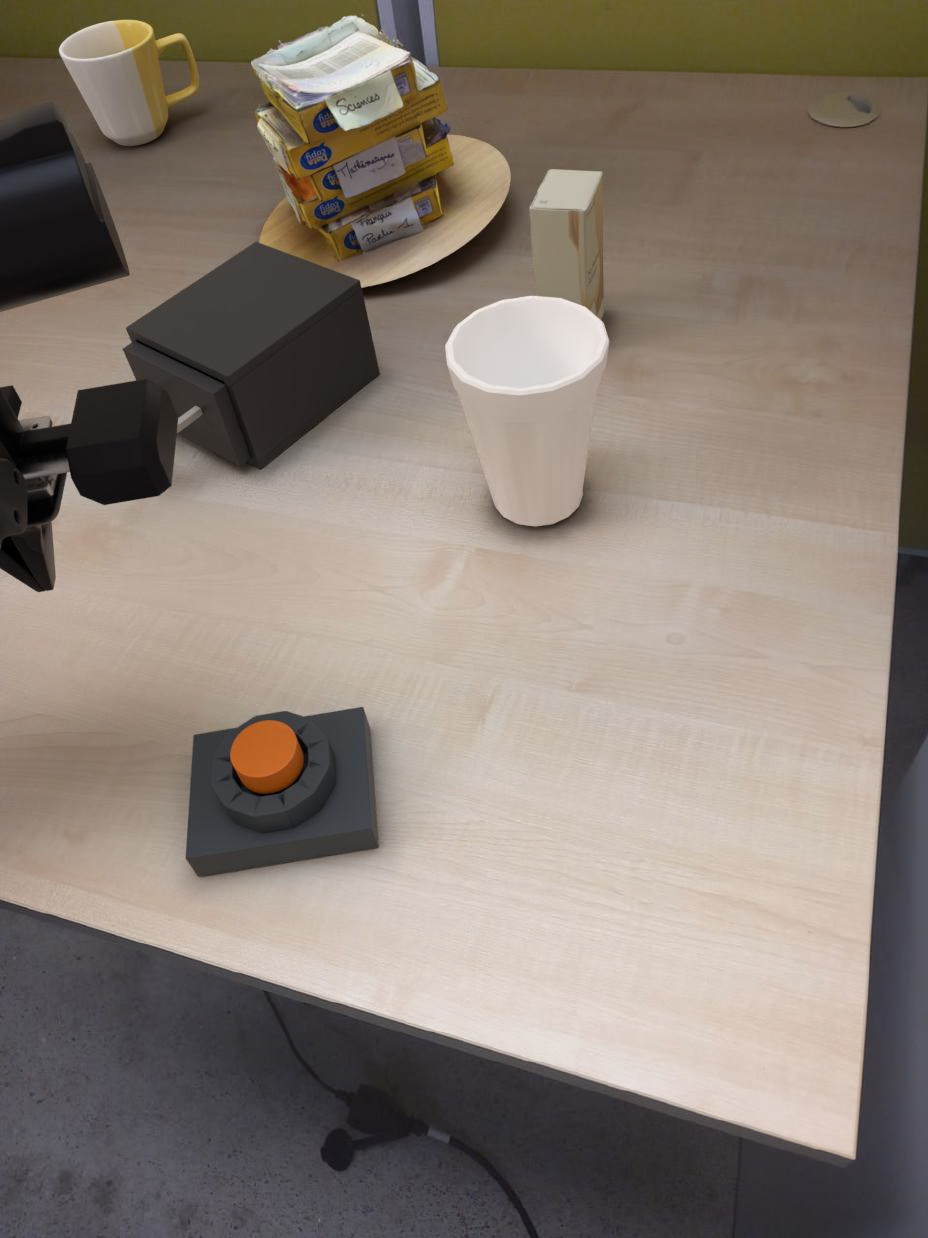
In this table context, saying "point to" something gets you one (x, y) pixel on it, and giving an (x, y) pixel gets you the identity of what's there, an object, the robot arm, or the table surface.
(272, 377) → the black box
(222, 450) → the drawer
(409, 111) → the stack of yellow boxes
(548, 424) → the cup
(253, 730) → the button
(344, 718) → the control block
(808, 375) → the table surface
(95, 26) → the mug
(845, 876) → the table surface
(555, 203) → the cosmetic box
